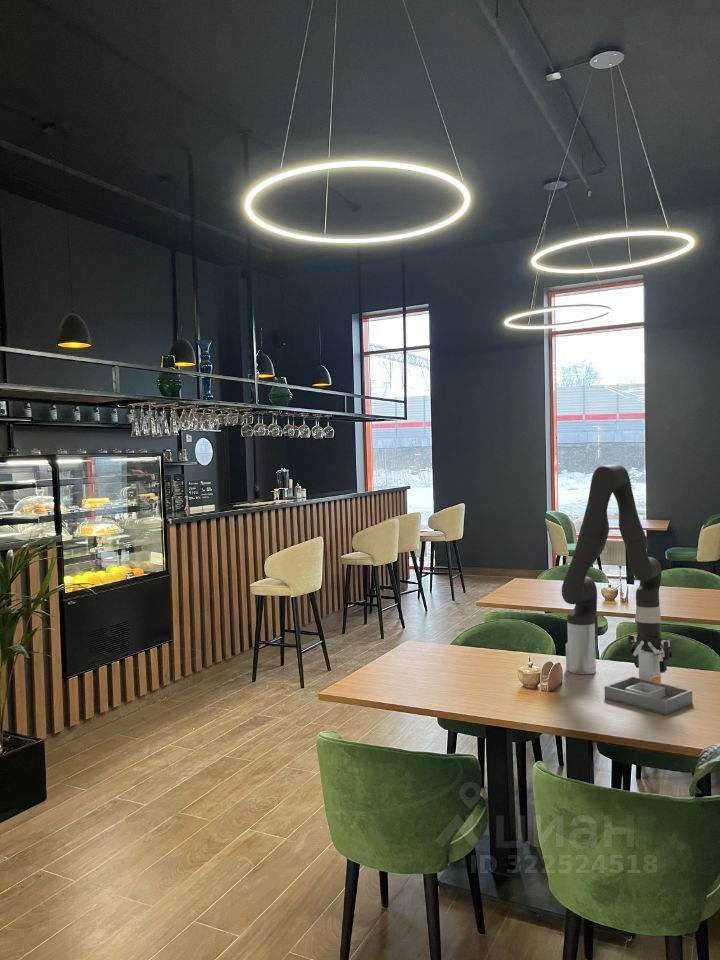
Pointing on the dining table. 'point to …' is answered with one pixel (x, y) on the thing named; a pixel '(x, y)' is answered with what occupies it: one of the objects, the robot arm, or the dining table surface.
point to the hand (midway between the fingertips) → (650, 669)
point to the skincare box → (649, 666)
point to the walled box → (648, 695)
